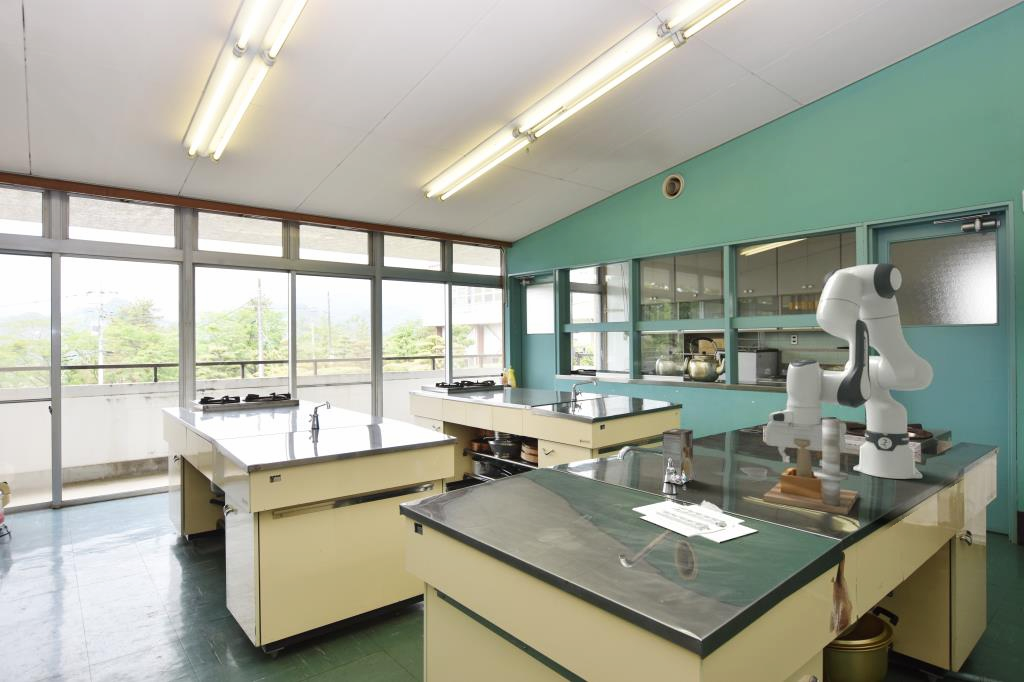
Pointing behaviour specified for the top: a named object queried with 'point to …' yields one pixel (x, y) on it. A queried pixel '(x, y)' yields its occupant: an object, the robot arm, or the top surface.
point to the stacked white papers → (695, 520)
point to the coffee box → (678, 451)
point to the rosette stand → (817, 480)
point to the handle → (803, 459)
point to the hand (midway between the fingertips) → (804, 464)
